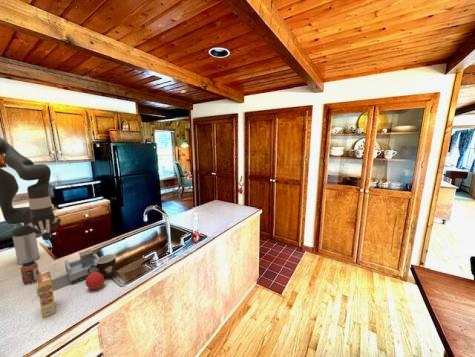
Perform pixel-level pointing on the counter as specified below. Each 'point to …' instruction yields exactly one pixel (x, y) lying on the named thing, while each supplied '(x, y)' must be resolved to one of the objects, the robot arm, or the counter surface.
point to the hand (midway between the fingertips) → (46, 239)
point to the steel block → (86, 259)
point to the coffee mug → (106, 266)
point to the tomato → (94, 280)
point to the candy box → (46, 293)
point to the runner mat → (63, 282)
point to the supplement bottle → (29, 271)
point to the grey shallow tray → (79, 269)
